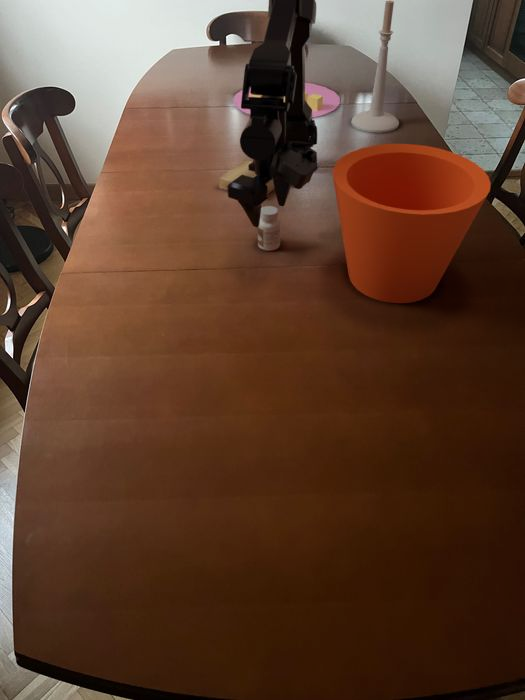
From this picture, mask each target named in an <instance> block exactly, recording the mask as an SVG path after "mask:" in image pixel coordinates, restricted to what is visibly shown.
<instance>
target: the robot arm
mask: <svg viewBox="0 0 525 700" xmlns="http://www.w3.org/2000/svg"><path fill="white" fill-rule="evenodd" d="M267 10H268V11H267V20H268V21H267V26H266V29H265V34H264V37H263V41H262V44H259V45H258V46H257V47H255V48H254V49H253V50H252V52H251V54H250V58H249V60H248V63H247V62H246V63H245V66H244V71H243V84H242V90H243V91H242V101H241V109H250V114H249V119H248V121H247V122H246V124H245V126H244V128H243V129H242V132H241V134H240V136H239V137H240V139H239V145H240V149H241V150H242V152H243V153H244V155H245V156H246V157H248V158H249V159H251V160H252V161H251V162H252V163H250V164H249V165H248V166H249V170H250V171H253V172H255V174H256V176H255V177H254V178H252V177H249V176H245V175H241V176H239V177H238V178H236V179H235V180H234V181H232V182H231V183H230V184H229V185H227V190H226V191H227V197H228V198H229V199H231V200H235V201H237V202H238V203H239V205H240V206H241V208H242V209H243V211H244V213H245V215H246V216H247V218H248V220H249V221H250V223H251V225H252V226H253V227H255V228H258V227H259V223H260V215H261V208H262V205H263V203H264V202H266V201H267V200H268V199H269V197H267V195H268V194H269V193H268V187H267V185H266V184H268V183H269V182H270V181H272V180H273V183H274V188H275V189H274V192H275V193H274V194H275V197H276V201H277V204H278V206H280V207H285V205H286V202H287V200H288V196H289V194H290V190H291V188H294V189H296V190H301V189H302V188H303V187H304V186H305V185H307V184H309V183H310V181H311V179H312V177H313V175H314V173H315V172H316V171H317V170H318V169H319V167H318V152H317V151H316V150H314V149H313V147H314V146H315V145H317V144H318V126H317V125H316V121H315V119H313V118H312V109H311V107H310V106H309V105H308V104H307V102H306V101H305V83H306V43H307V42H308V40H309V39H310V36H311V32H312V28H313V25H315V24H316V19H317V18H316V17H317V2H316V0H268V8H267ZM250 87H251V90H250ZM249 90H250V93H251V94H253V95H262V97H248V96H249ZM284 96H285V102H284ZM267 193H268V194H267Z"/></svg>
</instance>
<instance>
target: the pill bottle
mask: <svg viewBox="0 0 525 700" xmlns="http://www.w3.org/2000/svg"><path fill="white" fill-rule="evenodd" d="M280 245H281V221H280V219H279V210H278V208H277V207H275V206H272V205H266V206H261V215H260V223H259V227H257V246H258V248H259V249H261V250H263V251H267V252H268V251H275V250H277V249H279V248H280Z"/></svg>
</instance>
